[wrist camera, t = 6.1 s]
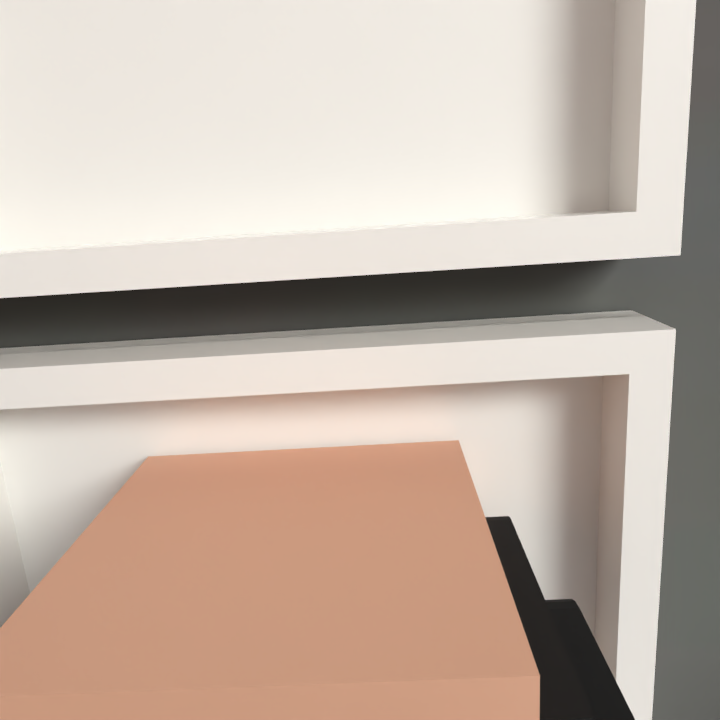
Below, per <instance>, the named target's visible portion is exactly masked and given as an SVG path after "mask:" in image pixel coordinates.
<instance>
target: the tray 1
mask: <svg viewBox="0 0 720 720" xmlns="http://www.w3.org/2000/svg"><path fill="white" fill-rule="evenodd" d="M695 11H696V0H0V298H10V297H26V296H42V295H58V294H74V293H89V292H105V291H121V290H137V289H153V288H169V287H184V286H200V285H216V284H232V283H248V282H264V281H279V280H295V279H311V278H327V277H343V276H359V275H374V274H390V273H406V272H422V271H438V270H454V269H469V268H485V267H501V266H517V265H533V264H549V263H564V262H580V261H596V260H612V259H628V258H644V257H659V256H675V255H680V254H681V238H682V221H683V205H684V189H685V173H686V157H687V140H688V124H689V108H690V92H691V76H692V59H693V43H694V27H695Z"/></svg>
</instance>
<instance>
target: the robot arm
mask: <svg viewBox="0 0 720 720" xmlns="http://www.w3.org/2000/svg"><path fill="white" fill-rule="evenodd" d="M485 518H486V521H487V524H488V527H489V530H490V532H491V535H492V538H493V541H494V544H495V547H496V550H497V553H498V556H499V559H500V561H501V564H502V567H503V570H504V573H505V576H506V579H507V582H508V585H509V587H510V590H511V593H512V596H513V599H514V602H515V605H516V608H517V611H518V614H519V616H520V619H521V622H522V625H523V628H524V631H525V634H526V637H527V640H528V642H529V645H530V648H531V651H532V654H533V657H534V660H535V663H536V666H537V668H538V671H539V674H540V720H635V718H634V716H633V714H632V712H631V710H630V708H629V706H628V704H627V702H626V700H625V698H624V696H623V694H622V692H621V690H620V688H619V686H618V684H617V682H616V680H615V678H614V676H613V674H612V672H611V670H610V668H609V666H608V664H607V662H606V660H605V658H604V656H603V654H602V652H601V650H600V648H599V646H598V644H597V642H596V640H595V638H594V636H593V634H592V632H591V630H590V628H589V626H588V624H587V622H586V620H585V618H584V616H583V614H582V612H581V610H580V608H579V606H578V605H577V603H576V602H575V601H574V600H573V599H555V600H545V599H544V596H543V594H542V591H541V589H540V587H539V584H538V582H537V580H536V577H535V575H534V572H533V570H532V568H531V565H530V563H529V561H528V558H527V556H526V553H525V551H524V549H523V546H522V544H521V542H520V539H519V537H518V534H517V532H516V530H515V527H514V525H513V523H512V520H511V518H510V517H509V516H499V517H485Z"/></svg>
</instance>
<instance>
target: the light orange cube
mask: <svg viewBox="0 0 720 720" xmlns="http://www.w3.org/2000/svg"><path fill="white" fill-rule="evenodd" d="M0 720H540V674H539V671H538V668H537V666H536V663H535V660H534V657H533V654H532V651H531V648H530V645H529V642H528V640H527V637H526V634H525V631H524V628H523V625H522V622H521V619H520V616H519V614H518V611H517V608H516V605H515V602H514V599H513V596H512V593H511V590H510V587H509V585H508V582H507V579H506V576H505V573H504V570H503V567H502V564H501V561H500V559H499V556H498V553H497V550H496V547H495V544H494V541H493V538H492V535H491V532H490V530H489V527H488V524H487V521H486V518H485V515H484V512H483V509H482V506H481V504H480V501H479V498H478V495H477V492H476V489H475V486H474V483H473V480H472V477H471V475H470V472H469V469H468V466H467V463H466V460H465V457H464V454H463V451H462V449H461V446H460V443H459V440H453V441H434V442H415V443H396V444H377V445H358V446H339V447H320V448H301V449H282V450H263V451H244V452H225V453H206V454H187V455H168V456H148V457H147V458H146V460H145V461H144V462H143V463H142V464H141V465H140V467H139V468H138V469H137V470H136V471H135V472H134V474H133V475H132V476H131V477H130V478H129V479H128V481H127V482H126V483H125V484H124V485H123V486H122V487H121V489H120V490H119V491H118V492H117V493H116V494H115V496H114V497H113V498H112V499H111V500H110V501H109V503H108V504H107V505H106V506H105V507H104V508H103V509H102V511H101V512H100V513H99V514H98V515H97V516H96V518H95V519H94V520H93V521H92V522H91V523H90V525H89V526H88V527H87V528H86V529H85V530H84V531H83V533H82V534H81V535H80V536H79V537H78V538H77V540H76V541H75V542H74V543H73V544H72V545H71V547H70V548H69V549H68V550H67V551H66V552H65V554H64V555H63V556H62V557H61V558H60V559H59V560H58V562H57V563H56V564H55V565H54V566H53V567H52V569H51V570H50V571H49V572H48V573H47V574H46V576H45V577H44V578H43V579H42V580H41V581H40V582H39V584H38V585H37V586H36V587H35V588H34V589H33V591H32V592H31V593H30V594H29V595H28V596H27V598H26V599H25V600H24V601H23V602H22V603H21V605H20V606H19V607H18V608H17V609H16V610H15V611H14V613H13V614H12V615H11V616H10V617H9V618H8V620H7V621H6V622H5V623H4V624H3V625H2V627H1V628H0Z"/></svg>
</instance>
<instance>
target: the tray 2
mask: <svg viewBox="0 0 720 720" xmlns="http://www.w3.org/2000/svg"><path fill="white" fill-rule="evenodd" d="M675 335H676V329H674V328H672V327H669V326H667V325H665V324H662V323H660V322H658V321H655V320H653V319H651V318H648V317H646V316H644V315H641V314H639V313H637V312H634V311H632V310H628V311H612V312H595V313H579V314H562V315H545V316H529V317H512V318H495V319H479V320H462V321H446V322H429V323H412V324H396V325H379V326H362V327H346V328H329V329H313V330H296V331H279V332H263V333H246V334H229V335H213V336H196V337H180V338H163V339H146V340H130V341H113V342H96V343H80V344H63V345H47V346H30V347H13V348H0V628H1V627H2V625H3V624H4V623H5V622H6V621H7V620H8V618H9V617H10V616H11V615H12V614H13V613H14V611H15V610H16V609H17V608H18V607H19V606H20V605H21V603H22V602H23V601H24V600H25V599H26V598H27V596H28V595H29V594H30V593H31V592H32V591H33V589H34V588H35V587H36V586H37V585H38V584H39V582H40V581H41V580H42V579H43V578H44V577H45V576H46V574H47V573H48V572H49V571H50V570H51V569H52V567H53V566H54V565H55V564H56V563H57V562H58V560H59V559H60V558H61V557H62V556H63V555H64V554H65V552H66V551H67V550H68V549H69V548H70V547H71V545H72V544H73V543H74V542H75V541H76V540H77V538H78V537H79V536H80V535H81V534H82V533H83V531H84V530H85V529H86V528H87V527H88V526H89V525H90V523H91V522H92V521H93V520H94V519H95V518H96V516H97V515H98V514H99V513H100V512H101V511H102V509H103V508H104V507H105V506H106V505H107V504H108V503H109V501H110V500H111V499H112V498H113V497H114V496H115V494H116V493H117V492H118V491H119V490H120V489H121V487H122V486H123V485H124V484H125V483H126V482H127V481H128V479H129V478H130V477H131V476H132V475H133V474H134V472H135V471H136V470H137V469H138V468H139V467H140V465H141V464H142V463H143V462H144V461H145V460H146V458H147V457H148V456H168V455H187V454H206V453H225V452H244V451H263V450H282V449H301V448H320V447H339V446H358V445H377V444H396V443H415V442H434V441H453V440H459V443H460V446H461V449H462V451H463V454H464V457H465V460H466V463H467V466H468V469H469V472H470V475H471V477H472V480H473V483H474V486H475V489H476V492H477V495H478V498H479V501H480V504H481V506H482V509H483V512H484V515H485V517H499V516H509V517H510V518H511V520H512V523H513V525H514V527H515V530H516V532H517V534H518V537H519V539H520V542H521V544H522V546H523V549H524V551H525V553H526V556H527V558H528V561H529V563H530V565H531V568H532V570H533V572H534V575H535V577H536V580H537V582H538V584H539V587H540V589H541V591H542V594H543V596H544V599H545V600H555V599H573V600H574V601H575V602H576V603H577V605H578V606H579V608H580V610H581V612H582V614H583V616H584V618H585V620H586V622H587V624H588V626H589V628H590V630H591V632H592V634H593V636H594V638H595V640H596V642H597V644H598V646H599V648H600V650H601V652H602V654H603V656H604V658H605V660H606V662H607V664H608V666H609V668H610V670H611V672H612V674H613V676H614V678H615V680H616V682H617V684H618V686H619V688H620V690H621V692H622V694H623V696H624V698H625V700H626V702H627V704H628V706H629V708H630V710H631V712H632V714H633V716H634V718H635V720H652V708H653V692H654V676H655V659H656V643H657V627H658V611H659V595H660V578H661V562H662V546H663V530H664V513H665V497H666V481H667V465H668V449H669V432H670V416H671V400H672V384H673V367H674V351H675Z"/></svg>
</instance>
